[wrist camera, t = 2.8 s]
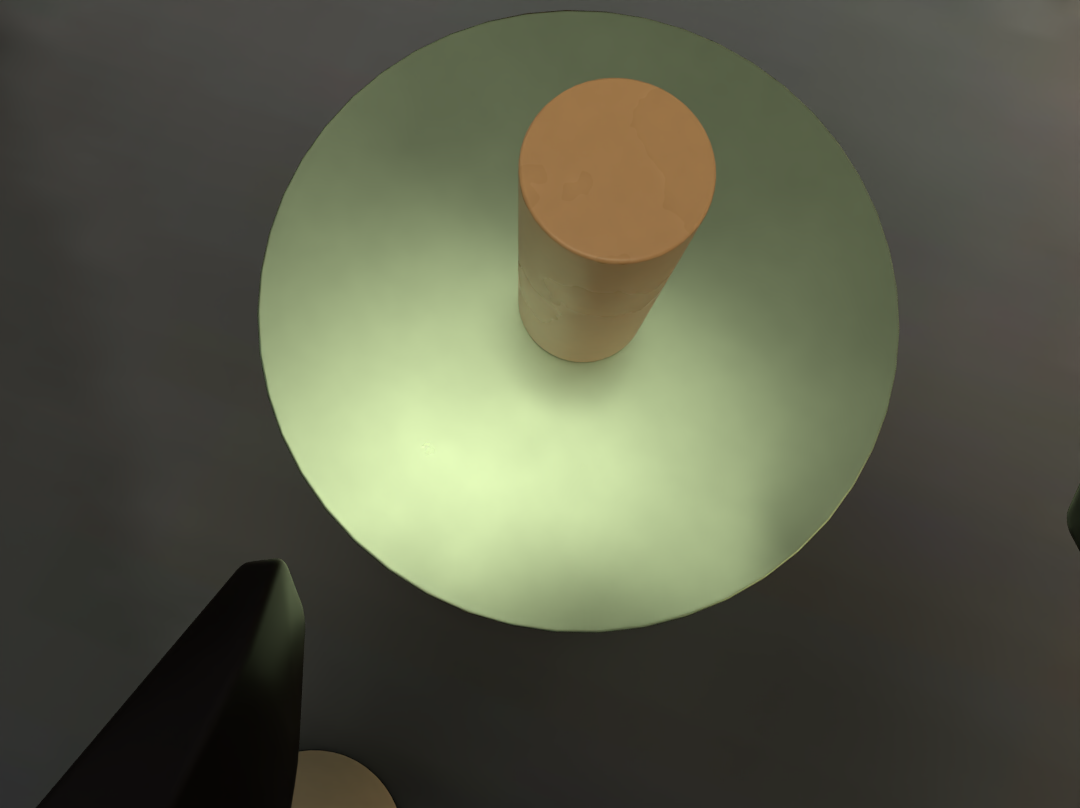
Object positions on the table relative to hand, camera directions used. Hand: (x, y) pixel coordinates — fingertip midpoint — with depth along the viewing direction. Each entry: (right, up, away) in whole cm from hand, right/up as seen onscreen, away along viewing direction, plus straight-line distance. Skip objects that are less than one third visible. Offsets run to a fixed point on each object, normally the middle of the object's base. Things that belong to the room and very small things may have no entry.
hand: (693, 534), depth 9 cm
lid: (-1, +3, +8) cm, 9 cm away
